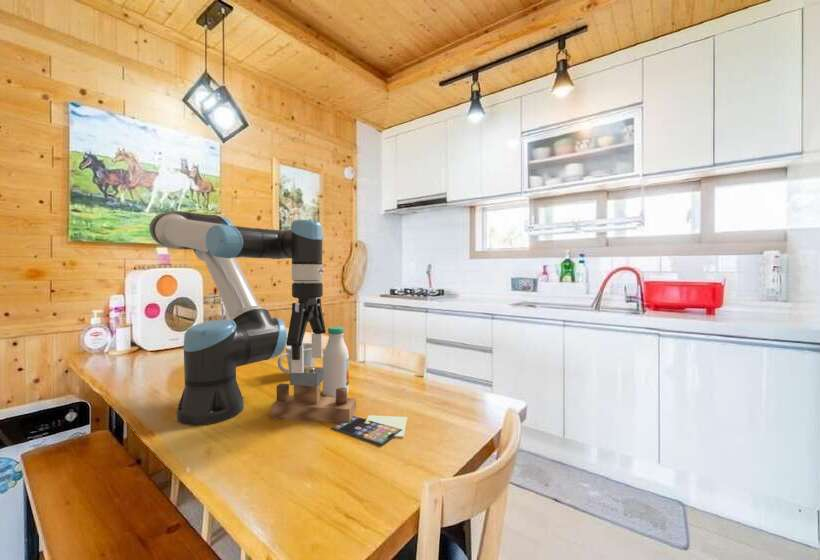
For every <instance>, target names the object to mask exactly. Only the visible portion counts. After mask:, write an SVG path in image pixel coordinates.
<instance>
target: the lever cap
mask: <svg viewBox="0 0 820 560" xmlns="http://www.w3.org/2000/svg"><path fill="white" fill-rule="evenodd" d="M323 380H324V368H323V366H322V367H321V366H320V367H318V366H316V367H315V366H314V367H308V366H307V365H304V372H303V373H291V372H290V374H289V386H294V385H297V386H318V385H319V384H320V385H321V383H323Z"/></svg>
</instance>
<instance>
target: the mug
mask: <svg viewBox="0 0 820 560" xmlns="http://www.w3.org/2000/svg"><path fill="white" fill-rule="evenodd" d="M302 345H303V346H304V365H307V366H308V367H315V360H316V358H312V342H302ZM284 358H287V365H288V369H286V368H284V366H283V365H282V361H283V359H284ZM277 366H278V368H279V370H280V371H281V372H283V373H285V374H289V375H290V372H291V346H287V345H286V346H285V353H283V354H282V353H281V354H280V355H279V356H278V359H277Z"/></svg>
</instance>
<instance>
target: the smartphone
mask: <svg viewBox="0 0 820 560" xmlns="http://www.w3.org/2000/svg"><path fill="white" fill-rule="evenodd" d="M366 420H367V418H363V417H359V416H356V415H354V416H352V418H351V420H350V422H344V421H343V422H341V423H340V422H338V423H337V424H335V425H333V426H332V427H330V430H333V431H335V432H339V433H342V434H343V435H346V436H350V437H353V438H355V439H359V440H361V441H364V442H367V443H370V444H373V445H374V446H378V447H383V446H385V445H386V444H387V443H389V442H390V441H392V440H393V439H395V437H394V436H395V435H396V434H397V433H399V432H400V431H402V429H398V428H395V427H391V426H388V425H384V424H380V423H376V422H373V421H367V422H366Z"/></svg>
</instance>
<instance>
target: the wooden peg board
mask: <svg viewBox="0 0 820 560" xmlns="http://www.w3.org/2000/svg"><path fill="white" fill-rule="evenodd" d="M356 412H357V398H356V397H348V393H347V388H337V389H336V397H327V396H321V383H320V384H319V385H318V386H297V385H293V395H292V394H291V395H290V383H279V384H278V385H276V400H275V401H274V402H273V403H272V404H271V405H270V419H271V420H281V421H282V420H284V421H285V420H286V421H302V422H303V421H304V422H306V421H307V422H320V423H321V422H324V423H326V422H327V423H341V422H343V421H344V422H350V420H351V418H352V416H355V413H356Z"/></svg>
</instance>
